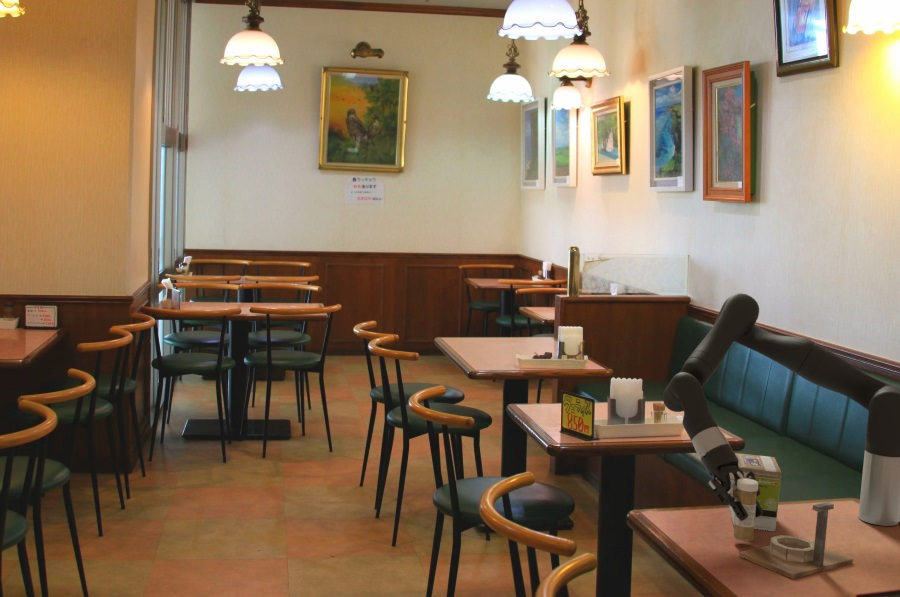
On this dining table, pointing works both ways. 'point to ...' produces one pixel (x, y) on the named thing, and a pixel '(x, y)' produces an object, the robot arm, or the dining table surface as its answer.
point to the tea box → (763, 487)
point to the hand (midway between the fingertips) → (751, 516)
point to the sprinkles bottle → (746, 509)
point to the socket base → (792, 565)
